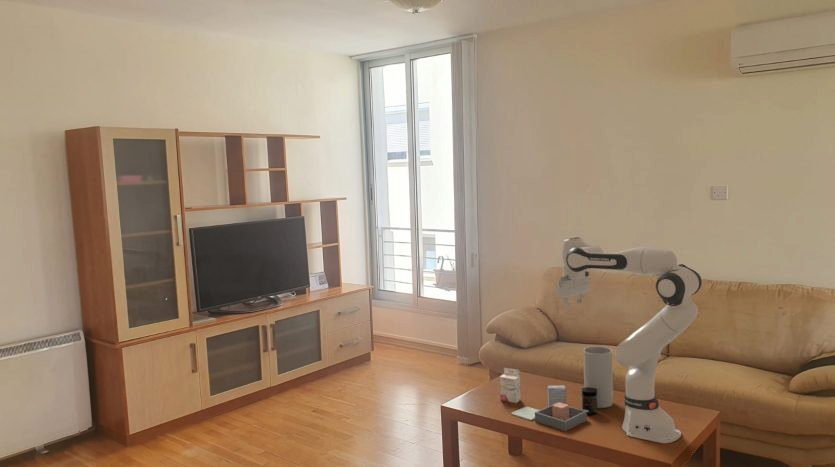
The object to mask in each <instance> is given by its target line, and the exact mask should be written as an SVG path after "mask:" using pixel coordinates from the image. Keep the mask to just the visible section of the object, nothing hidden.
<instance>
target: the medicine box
mask: <svg viewBox="0 0 835 467" xmlns="http://www.w3.org/2000/svg"><path fill="white" fill-rule="evenodd" d="M566 391H567V389H566V386H565V385H564V384H563V385H547V405H548V406H550V405H552V404H554V403H559V402H560V403H564V404H567V392H566Z"/></svg>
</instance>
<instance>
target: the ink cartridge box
mask: <svg viewBox="0 0 835 467" xmlns="http://www.w3.org/2000/svg"><path fill="white" fill-rule="evenodd" d="M499 389H500V390H499V395H500V401H502V402H504V401H505V402H509V403H512V404H513V403H515V404H517V403H518V402H520V401H521V377H520V369H515V368H510V367H509V368H507V367H503V374H501V375H500V376H499Z"/></svg>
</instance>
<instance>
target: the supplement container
mask: <svg viewBox="0 0 835 467" xmlns="http://www.w3.org/2000/svg"><path fill="white" fill-rule="evenodd" d="M581 410H584V411H587V416H594V415H597V414H598V413H599V412H598V410H599V408H598V402H597V389H595V388H592V387H585V388H584V387H582V389H581Z"/></svg>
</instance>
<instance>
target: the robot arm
mask: <svg viewBox="0 0 835 467" xmlns="http://www.w3.org/2000/svg"><path fill="white" fill-rule="evenodd" d="M562 242H563V243H562V246H561V248H562V249H561V250H562V251H561V257H562V258H561V259H562V261H563V262H562V263H563V264H562V267H561V268H562V276H561V277H560V278H559V280H558V282H557V285H556V296H557V298H558V299H562V301H563V302H564V307H565V308H570V307H571V303H570V301H569V299H570V298H571V297H574V296H578V299H577V298H576V299H577V300H576V303H577V304H578V305H580V304H583V300H584V299H583V298H584V297H585V296H584V295H585V293H588V292H589V291H590V288H591V286H590V284H591V282H590V276H591V273H590V271H589V270H590V269H595V270H596V269H598V270H613V271H620V272H621V271H622V272H627V273H631V274H637V275H643V276H655V277H658V278H657V280H656V281H655V291H656V293H657V295H658V296H659V297H660V298H661V300H662V301H663V303H664V304H665V306H664V307H663V308H662V309H661V310H659V311H658V312H657V313H656V315H654V316H653V317H652V318H651V319H649V321H647V322H646V323H644V324H643V325H642V326H641V327H639V328H638V329H636V330H635V331H634V332H633V333H631V334H630V335H628V337H626V338H624V339H623V340H622V341H621V342H620V343H619V344H618V345H617V346H616V347H615V351H614V356H615V359H616V360H617V362H618V363H619V364H620V365H622V366H623V367H627V368H628V367H629V368H628V370H627V372H626V374H625V393H624V407H625V410H624V419H623V422H622V425H621V426H622V427H621V429H622V430H623V431H624V432H625V434H626V436H627V437H631V438H636V439H641V440H646V441H649V442H656V443H660V444H663V445H665V444H670V443H673V442H675V441H678V440H679V439H680V438H681V436H682V432H681V430H679V429H676V426H675V421H674V418H672V417H671V415H669V413H667V412H666V411H665V410H664V409H663V408H662V407H660V405H659V404H660V403H661V401H662V400H661V399H657V397H656V395H655V378H656V376H655V375H656V371H657V367H658V362H659V358H660V355H661V353H662V352H663V348H664V347H666V346H668V345H669V344H671V343H672V342H673V340H676V338H677V337H678V336H679V335H680V334H682V333H683V332H684V331H685V330H686V329H687V328H688V327H689V326H691V324H692V323H693V322H694V321H695V319H696V318H697V316H698V314H699V309H698V306H697V304H696V303H695V302H694V301H693V300H692V296H693V295H695V294H696V293H698V292H699V290H700V289H701V287H702V286H703V285H702V284H703V280H702V277H701V275H700V273H698V272H697V271H695V269H692V268H690V267H688V266H687V265H685V264H684V263H683V264H682V263H680V264H678V259H677V256H676V254H675V253H674V252H673V251H671V250H668V249H664V248H659V247H654V246H653V247H652V246H639V247H633V248H628V249H623V250H621V251H616V252H611V253H604V252H603V250H602V249H601V248H600V247H599V246H597V245H594V244H591V243H589V242H586V241H585V240H584V239H582V238H581V237H579V236H577V237H570V238H566V239H564V240H563V241H562Z"/></svg>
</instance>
